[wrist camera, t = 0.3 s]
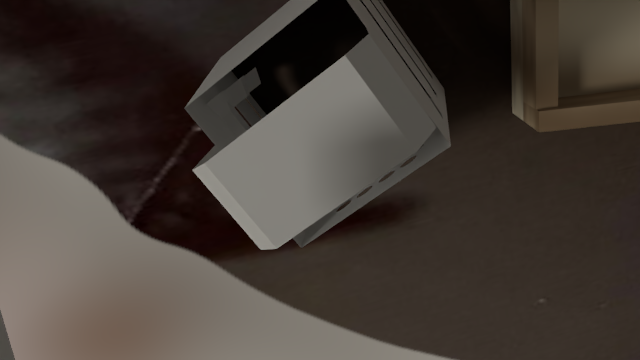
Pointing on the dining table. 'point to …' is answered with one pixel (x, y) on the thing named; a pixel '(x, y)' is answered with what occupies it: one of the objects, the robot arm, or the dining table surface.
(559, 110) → the beige shallow tray
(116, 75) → the dining table surface
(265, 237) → the grater
